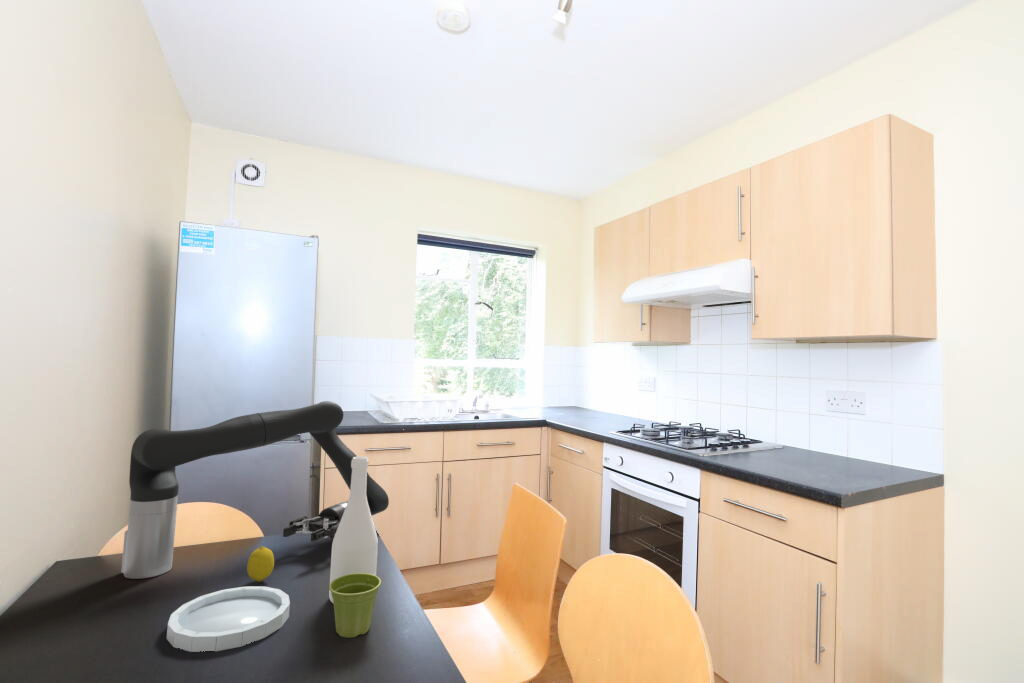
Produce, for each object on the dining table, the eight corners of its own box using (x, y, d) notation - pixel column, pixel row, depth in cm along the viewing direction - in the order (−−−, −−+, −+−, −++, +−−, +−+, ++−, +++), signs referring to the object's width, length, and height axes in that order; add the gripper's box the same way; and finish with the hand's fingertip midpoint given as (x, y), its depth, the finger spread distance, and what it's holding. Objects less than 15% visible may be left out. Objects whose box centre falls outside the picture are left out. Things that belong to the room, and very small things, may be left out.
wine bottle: (370, 586, 111) (378, 453, 114) (378, 604, 103) (386, 460, 105) (326, 592, 107) (335, 454, 110) (330, 612, 99) (340, 462, 101)
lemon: (261, 588, 108) (264, 551, 109) (240, 585, 109) (242, 549, 110) (278, 578, 113) (280, 543, 114) (257, 576, 115) (260, 541, 115)
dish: (140, 638, 87) (141, 623, 87) (234, 592, 106) (235, 580, 106) (227, 661, 81) (228, 645, 81) (310, 608, 100) (311, 595, 100)
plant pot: (369, 644, 87) (372, 595, 88) (318, 642, 88) (321, 592, 88) (384, 619, 97) (386, 574, 97) (337, 616, 97) (340, 571, 98)
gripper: (318, 501, 141) (276, 516, 125) (361, 507, 136) (322, 523, 121) (317, 528, 140) (274, 546, 125) (359, 534, 136) (320, 554, 120)
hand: (298, 535), depth 123 cm, fingers open, 8 cm apart
